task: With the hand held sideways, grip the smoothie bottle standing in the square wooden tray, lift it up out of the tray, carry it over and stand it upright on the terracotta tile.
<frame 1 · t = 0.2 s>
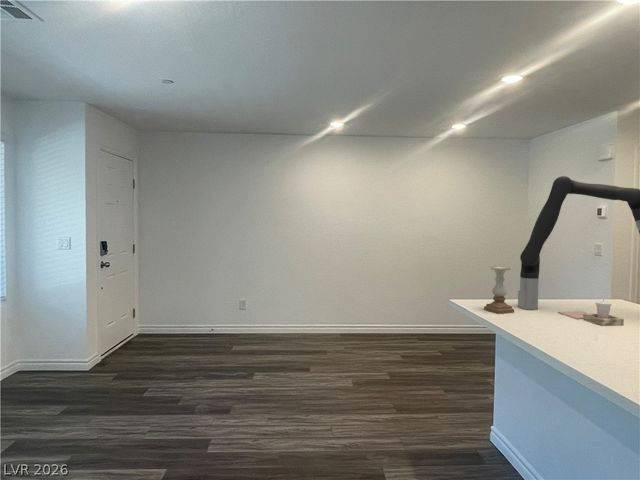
candle holder: (498, 311, 220), on the table
square wooden tray: (602, 322, 196), on the table
smoothie: (602, 323, 196), resting in square wooden tray
tile: (579, 315, 210), on the table
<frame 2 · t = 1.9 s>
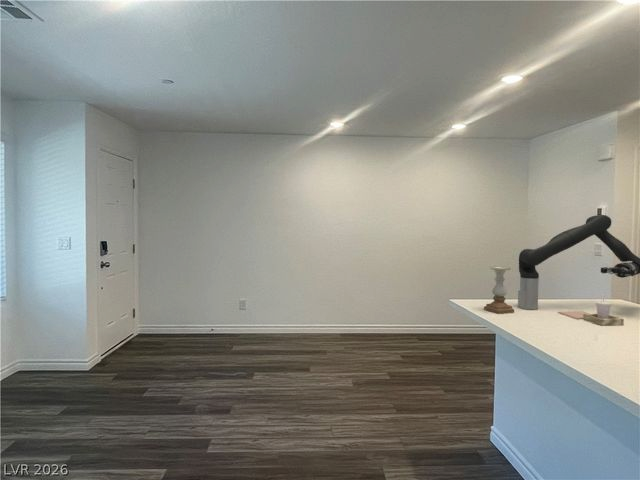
hand: (612, 272, 205), 23 cm above the table, tool horizontal, fingers open, 8 cm apart
nothing on the table moved.
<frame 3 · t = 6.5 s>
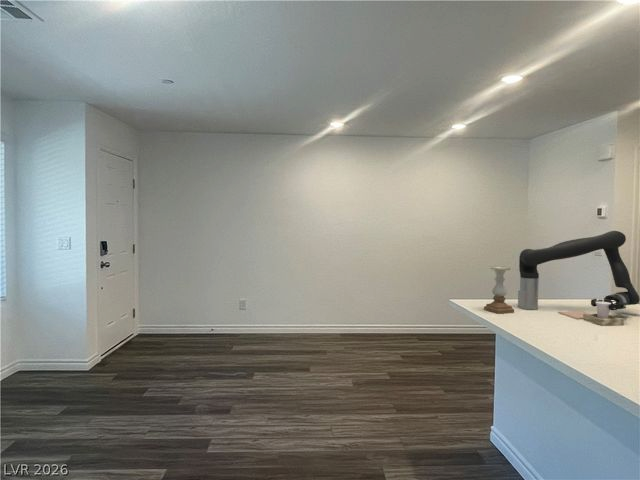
hand: (601, 305, 195), 9 cm above the table, tool horizontal, fingers closed on smoothie, 6 cm apart
smoothie: (602, 322, 196), resting in square wooden tray, touching gripper
everything else where it was.
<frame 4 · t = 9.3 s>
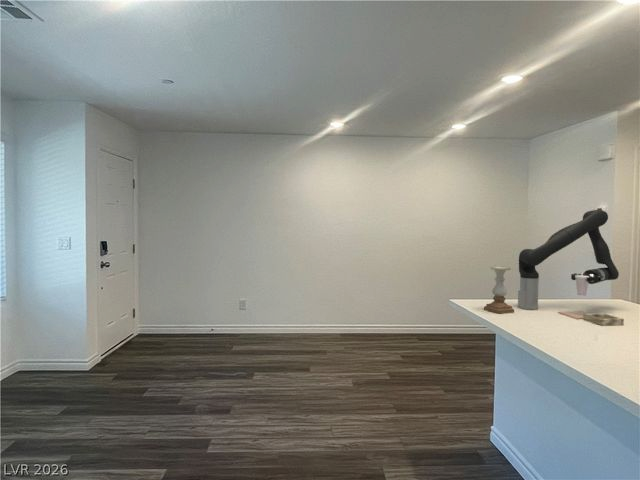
hand: (580, 278, 207), 20 cm above the table, tool horizontal, fingers closed on smoothie, 6 cm apart
smoothie: (581, 295, 208), point 11 cm above the table, touching gripper
everything else where it was.
when the fingers open (10 cm above the table, at t = 12.2 s): smoothie drops 1 cm, resting on tile.
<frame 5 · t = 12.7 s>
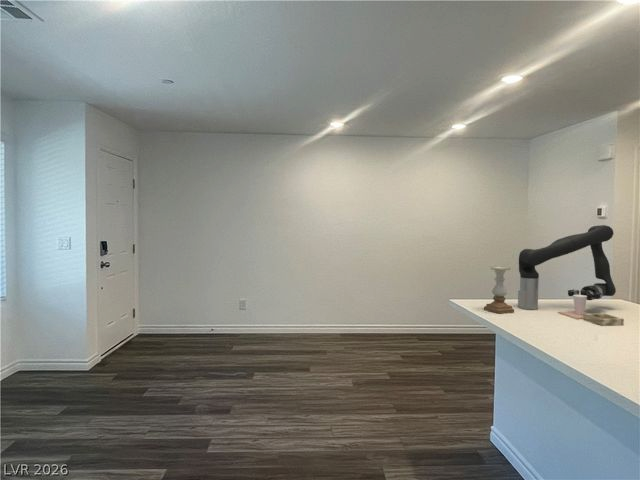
hand: (578, 295, 209), 11 cm above the table, tool horizontal, fingers open, 8 cm apart
smoothie: (579, 314, 210), point 1 cm above the table, touching tile
everything else where it was.
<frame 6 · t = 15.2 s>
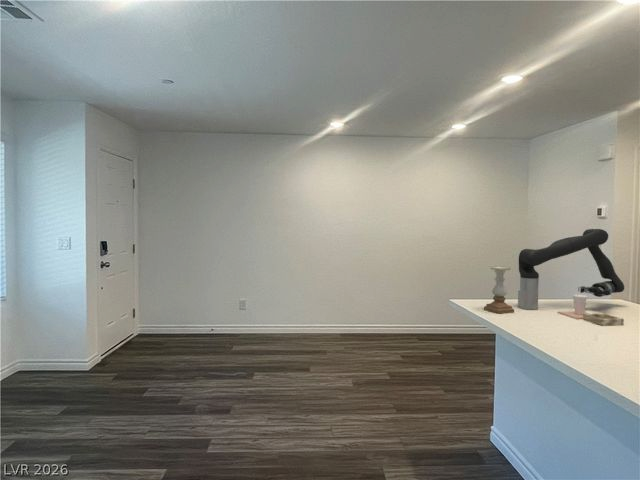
hand: (589, 292, 216), 11 cm above the table, tool horizontal, fingers open, 8 cm apart
nothing on the table moved.
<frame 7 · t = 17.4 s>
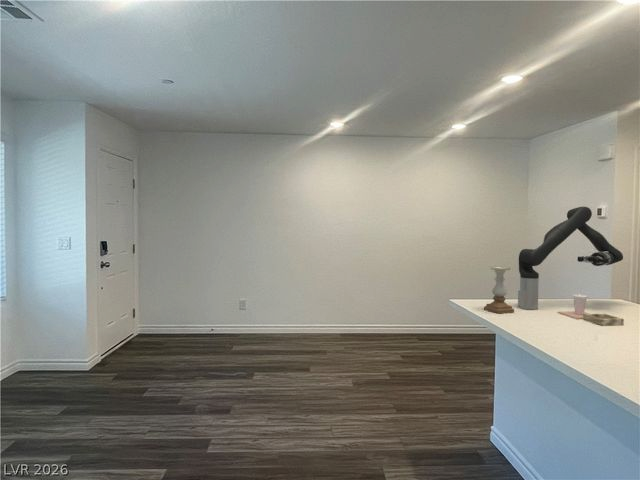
hand: (588, 260, 218), 28 cm above the table, tool horizontal, fingers open, 8 cm apart
nothing on the table moved.
at the end: smoothie inside the target area on the tile (0.2 cm from its centre), point 0.6 cm above the tile's base; smoothie tilted 0°; the gripper is holding nothing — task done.
